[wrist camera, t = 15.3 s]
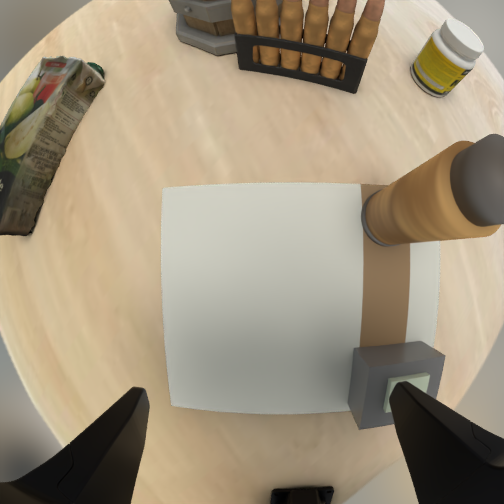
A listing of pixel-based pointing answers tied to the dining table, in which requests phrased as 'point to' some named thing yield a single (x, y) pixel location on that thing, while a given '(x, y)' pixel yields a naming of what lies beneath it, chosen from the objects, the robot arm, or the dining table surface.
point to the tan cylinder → (442, 197)
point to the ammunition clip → (306, 40)
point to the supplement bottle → (446, 58)
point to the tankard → (208, 24)
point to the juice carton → (41, 135)
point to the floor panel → (282, 294)
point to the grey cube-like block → (390, 378)
